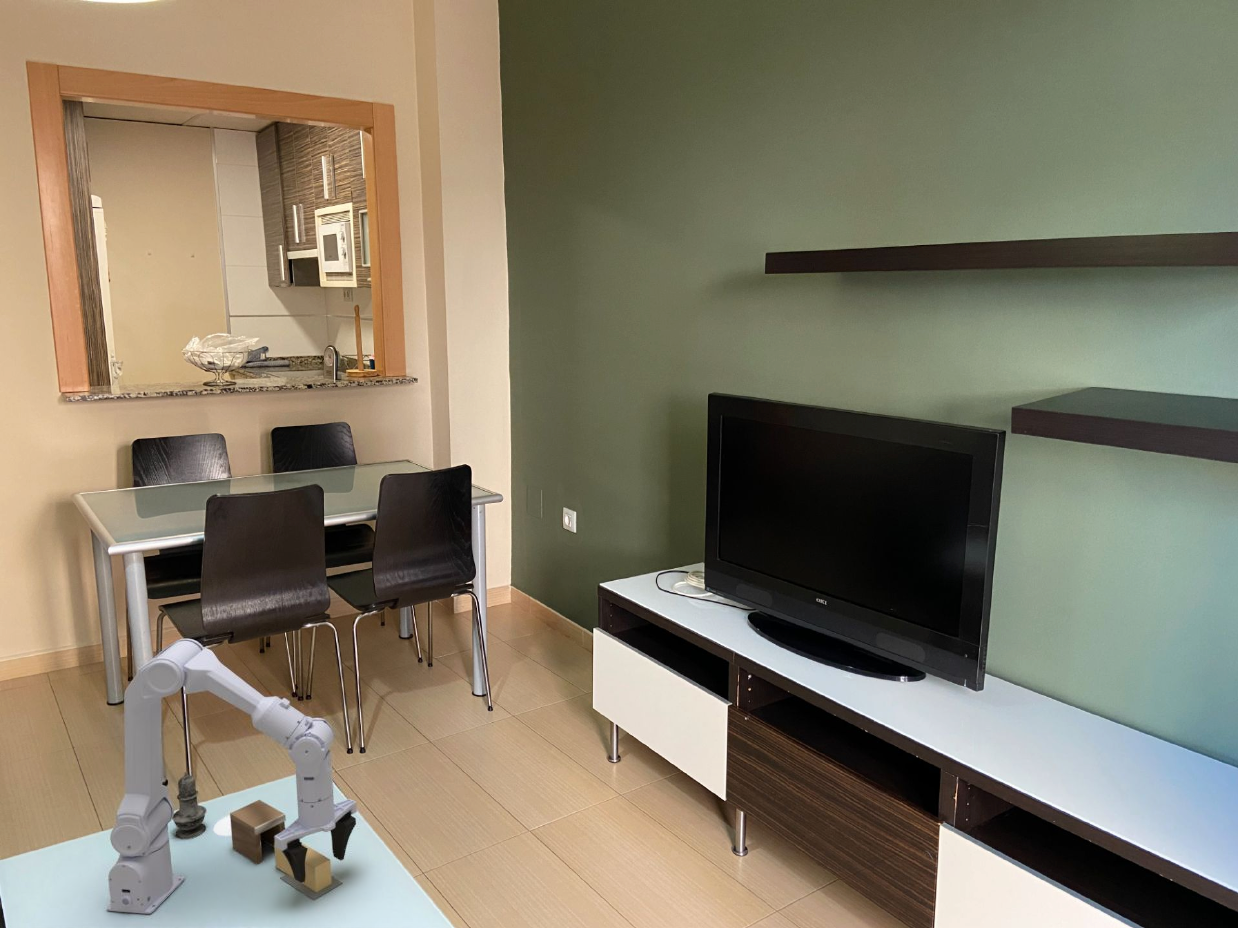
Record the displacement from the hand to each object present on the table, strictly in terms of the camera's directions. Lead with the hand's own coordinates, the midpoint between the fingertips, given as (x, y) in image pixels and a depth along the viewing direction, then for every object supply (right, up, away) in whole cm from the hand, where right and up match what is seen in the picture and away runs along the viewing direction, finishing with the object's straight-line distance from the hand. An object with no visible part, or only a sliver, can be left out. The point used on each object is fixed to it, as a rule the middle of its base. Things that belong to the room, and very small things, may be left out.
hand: (319, 868), depth 151 cm
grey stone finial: (-30, -1, +18) cm, 35 cm away
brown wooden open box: (-15, -2, +12) cm, 19 cm away
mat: (-2, -3, +2) cm, 4 cm away
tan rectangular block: (-4, -3, +4) cm, 6 cm away
